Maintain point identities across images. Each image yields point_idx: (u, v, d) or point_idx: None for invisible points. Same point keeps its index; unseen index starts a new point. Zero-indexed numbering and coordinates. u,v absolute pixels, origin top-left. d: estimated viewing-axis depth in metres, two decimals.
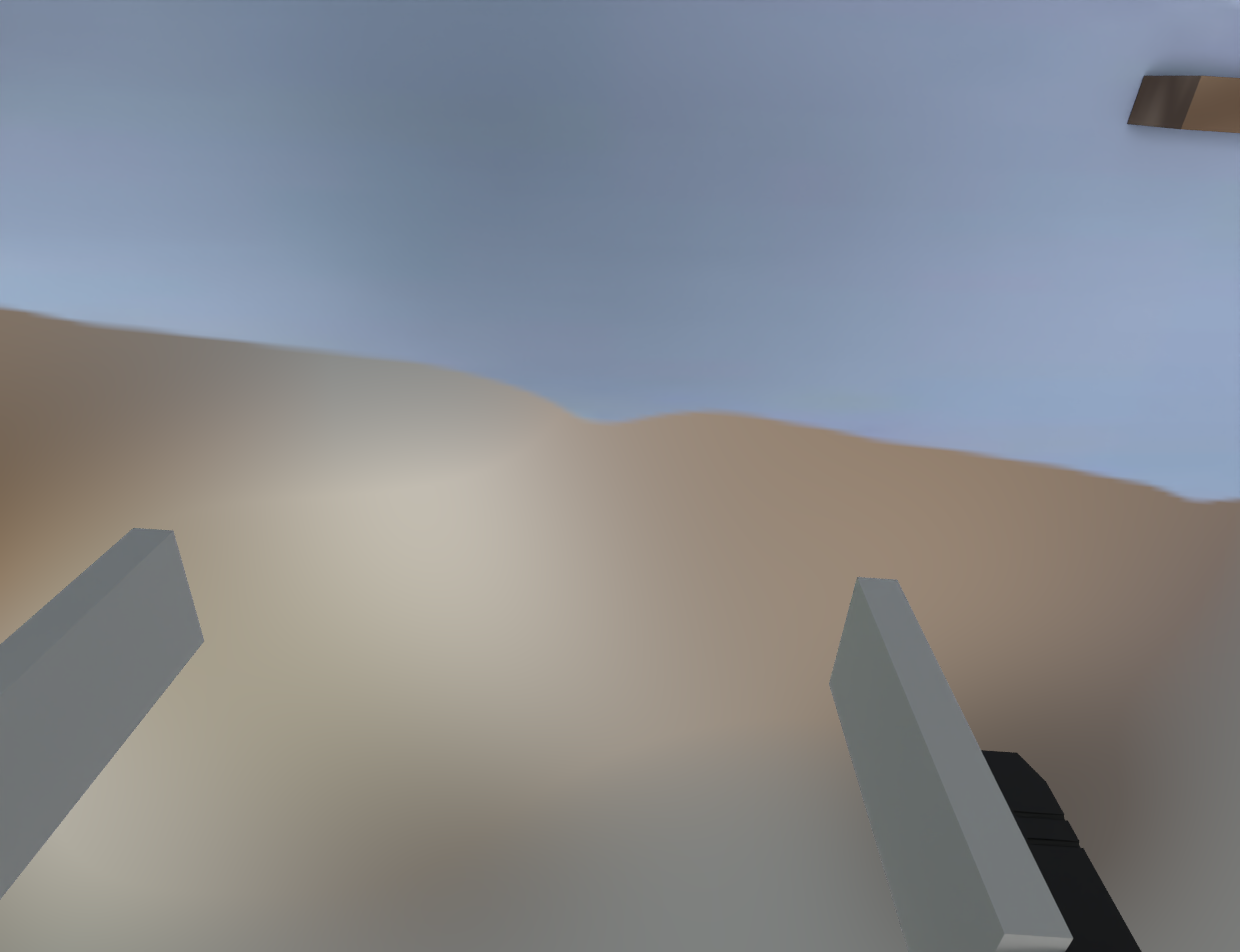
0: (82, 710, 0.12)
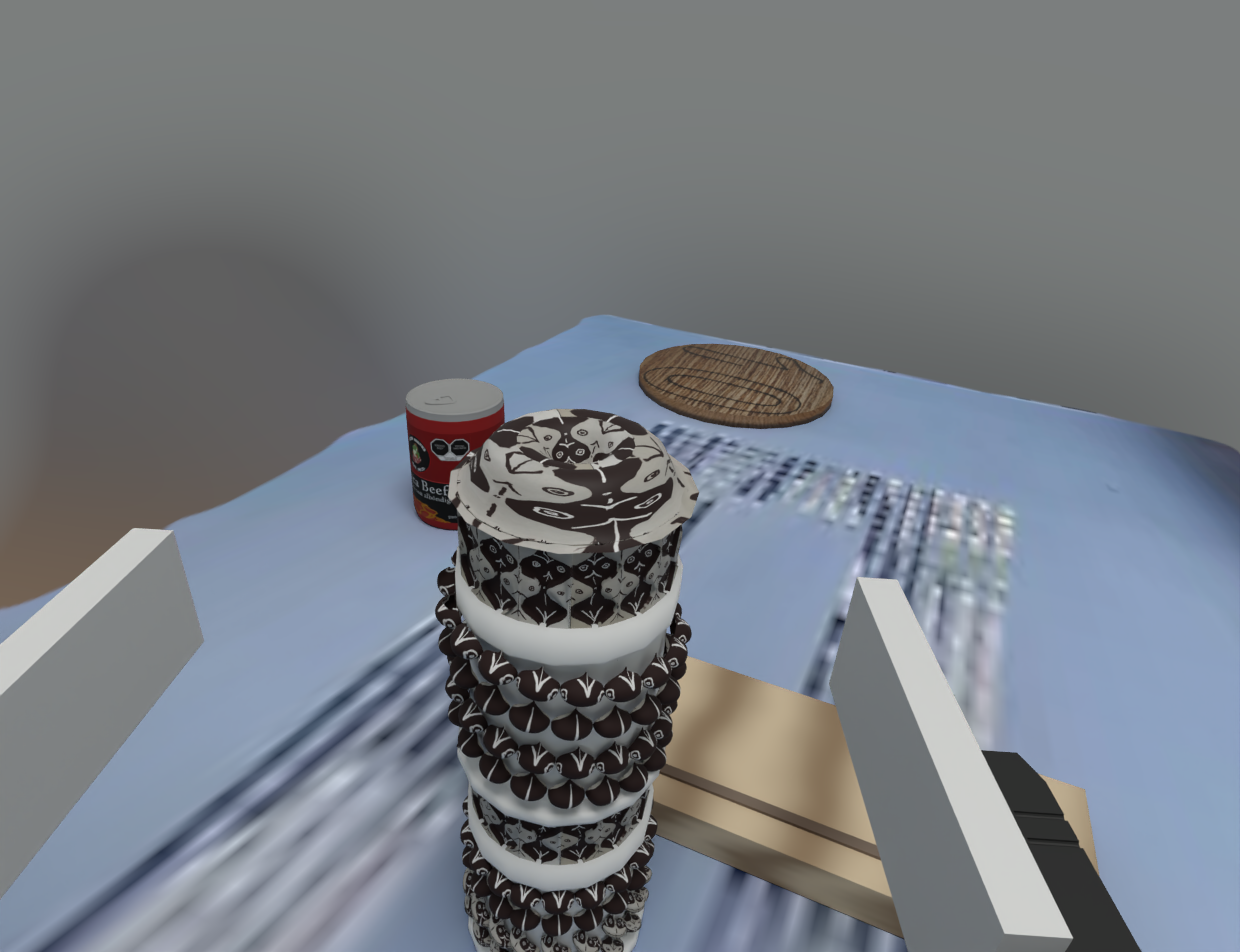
0: (82, 710, 0.12)
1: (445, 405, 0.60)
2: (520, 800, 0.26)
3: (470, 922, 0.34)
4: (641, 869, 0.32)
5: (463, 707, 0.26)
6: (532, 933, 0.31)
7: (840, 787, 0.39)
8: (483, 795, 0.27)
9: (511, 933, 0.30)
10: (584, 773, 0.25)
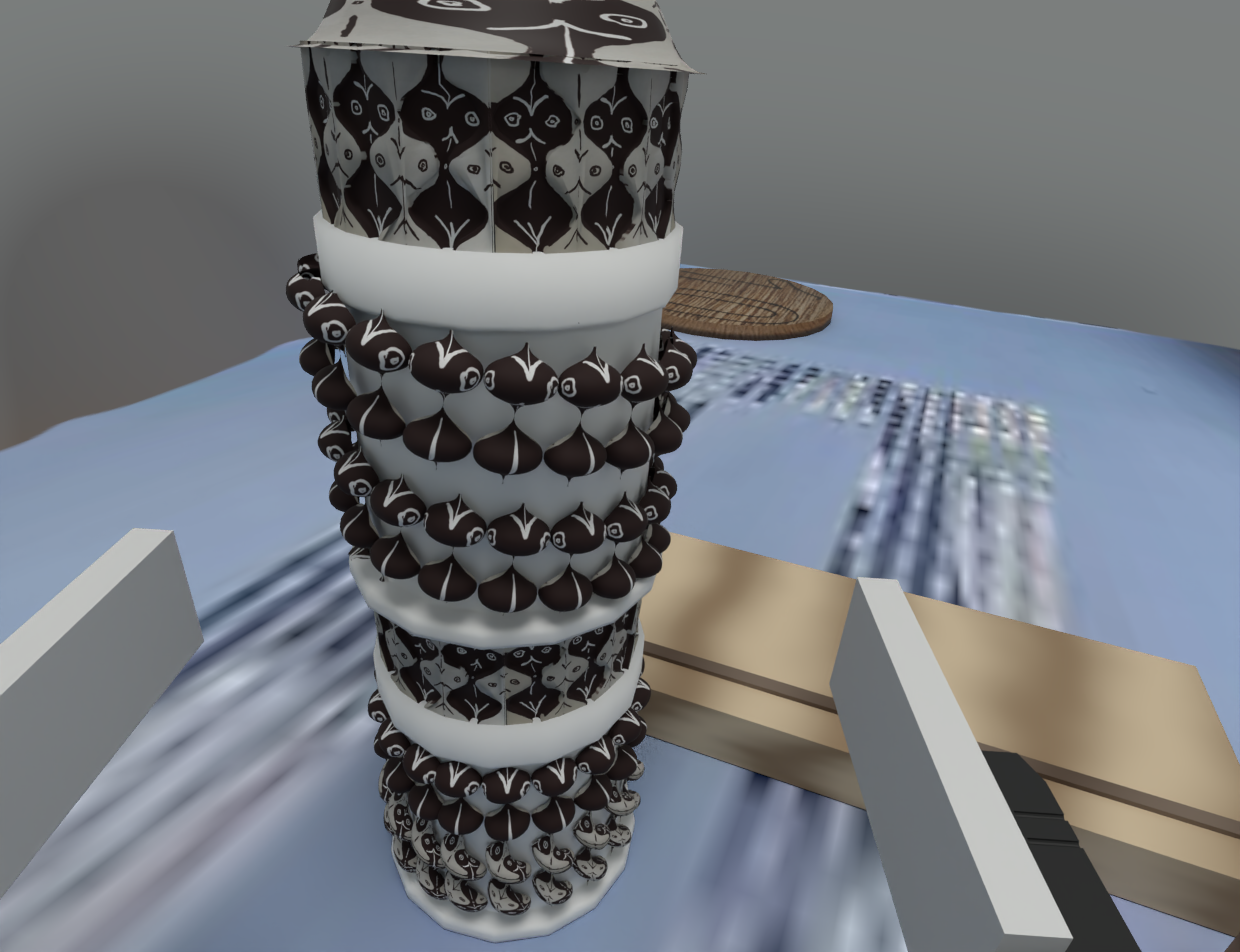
0: (82, 710, 0.12)
1: None
2: (437, 612, 0.17)
3: None
4: (629, 751, 0.22)
5: (341, 458, 0.16)
6: (474, 844, 0.21)
7: None
8: (382, 611, 0.17)
9: (442, 843, 0.21)
10: (532, 543, 0.15)
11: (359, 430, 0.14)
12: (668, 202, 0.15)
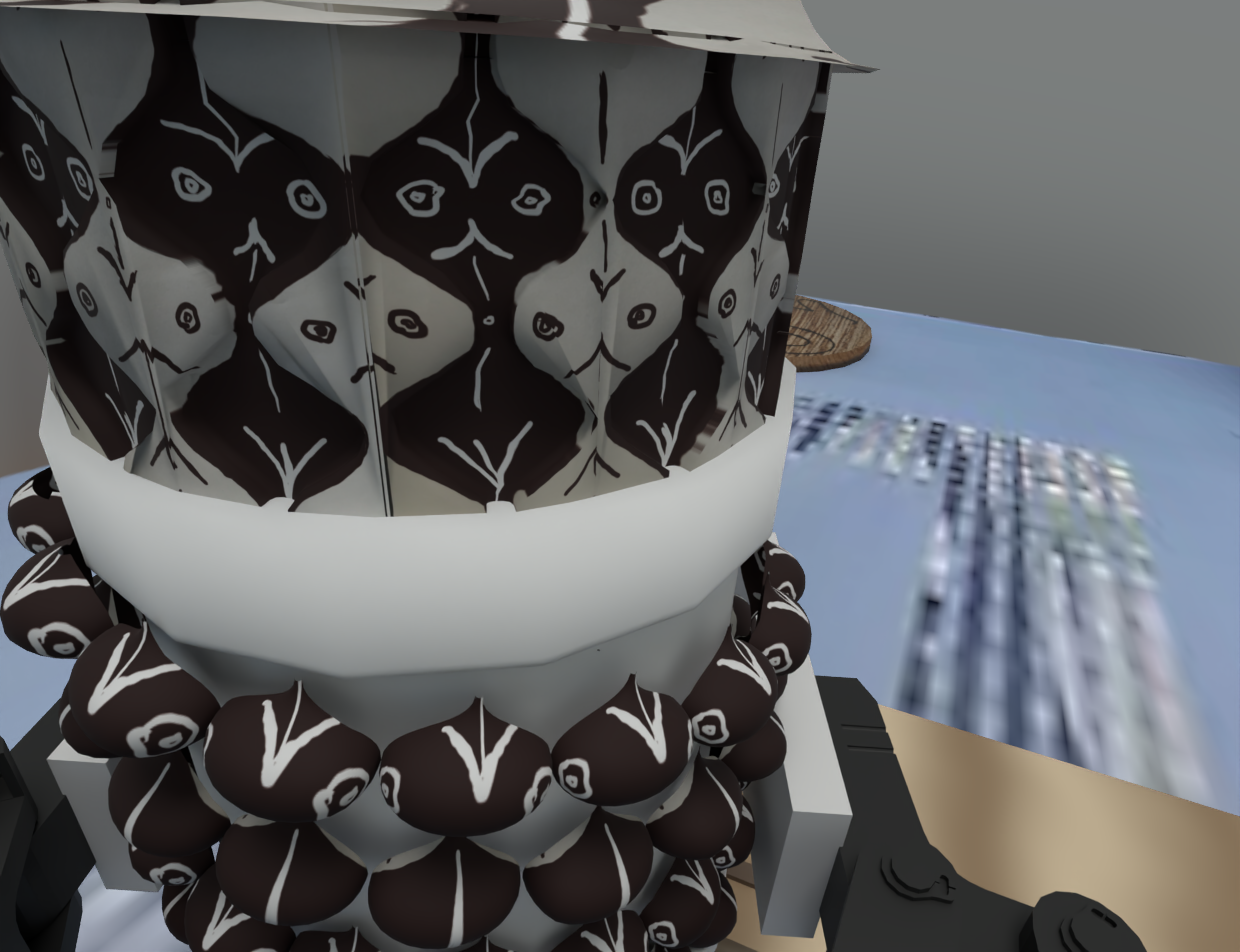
0: None
1: None
2: None
3: None
4: None
5: None
6: None
7: (1009, 881, 0.22)
8: None
9: None
10: None
11: (127, 839, 0.07)
12: (780, 335, 0.07)
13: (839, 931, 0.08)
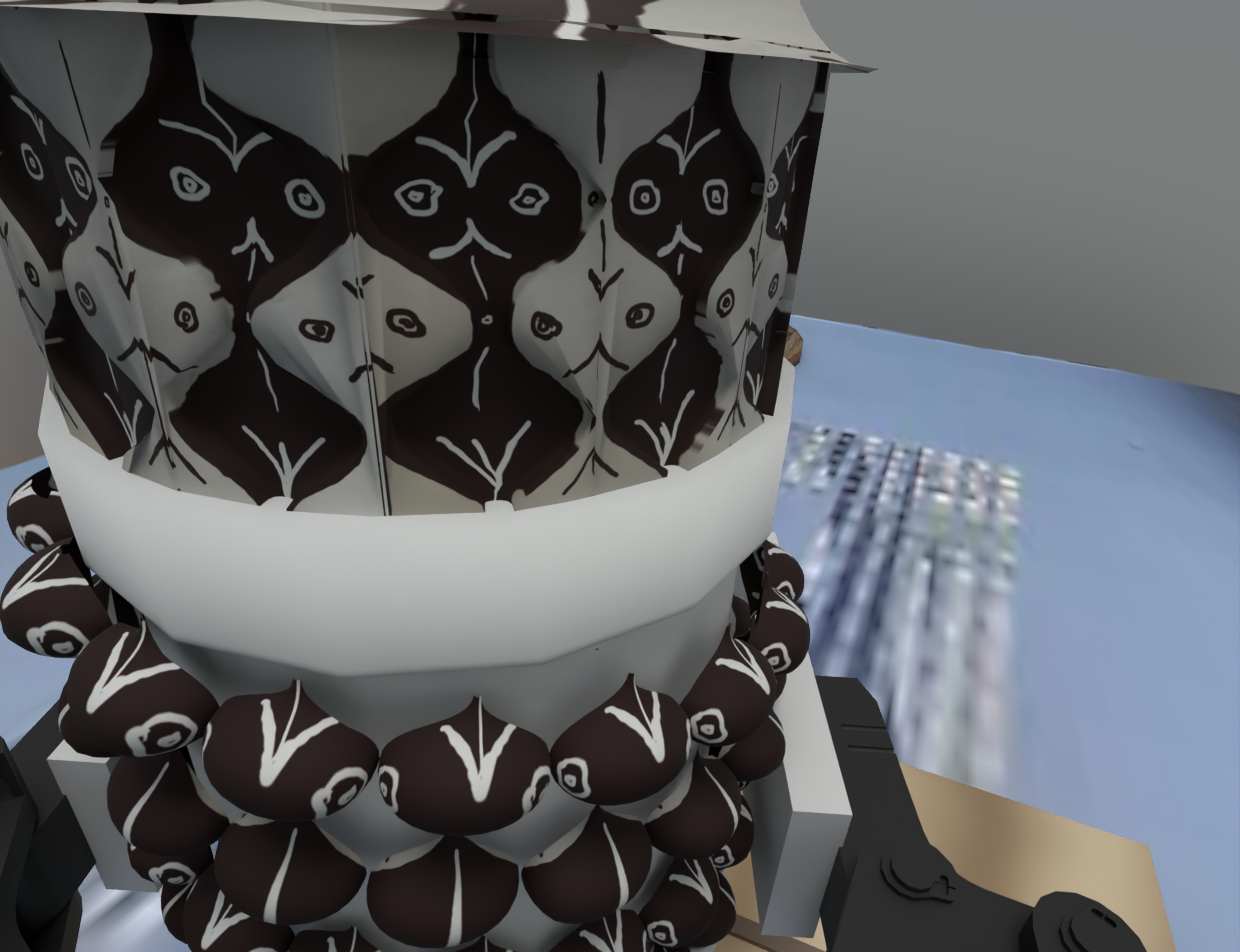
0: None
1: None
2: None
3: None
4: None
5: None
6: None
7: None
8: None
9: None
10: None
11: (126, 838, 0.07)
12: (778, 335, 0.07)
13: (839, 931, 0.08)
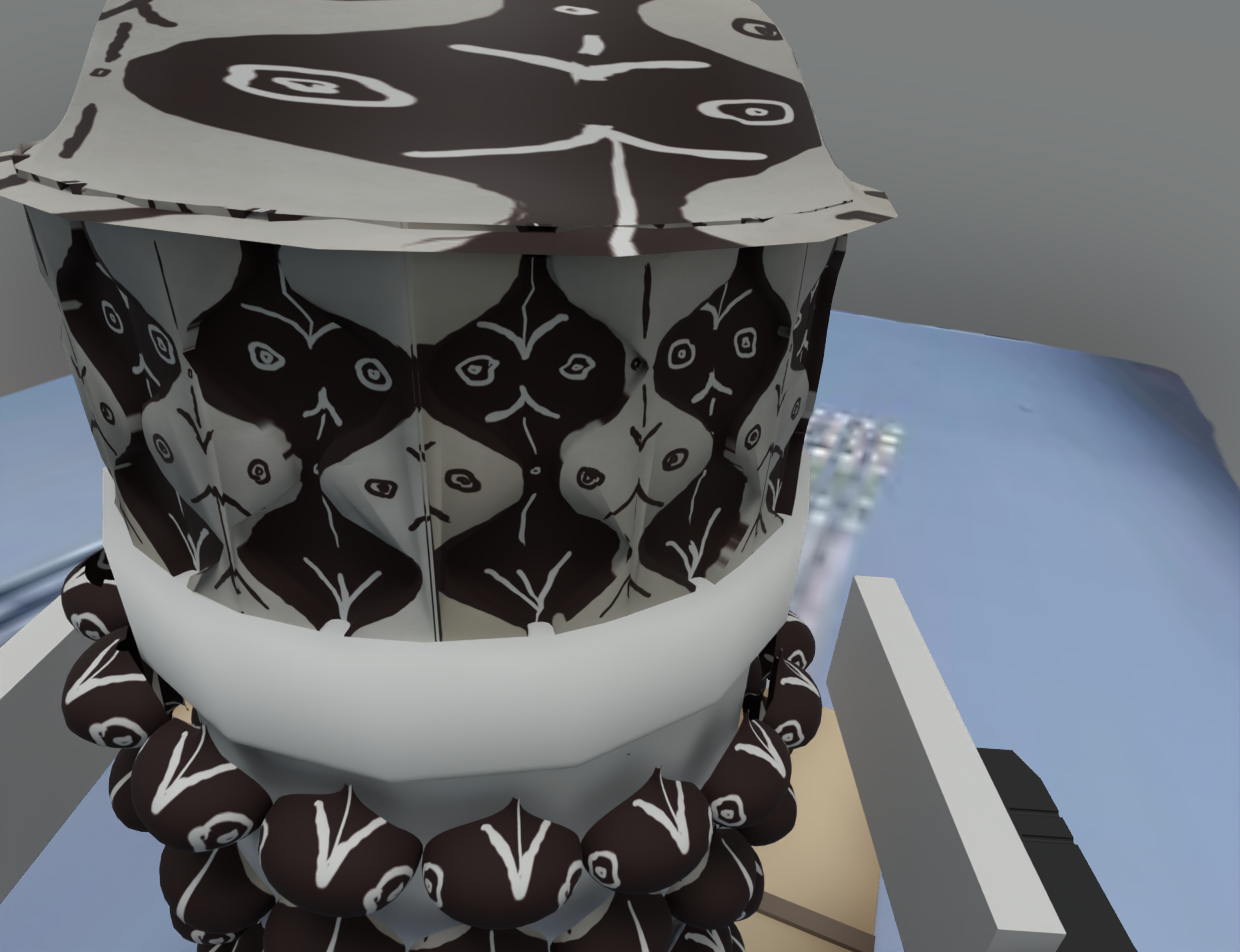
0: None
1: None
2: None
3: None
4: None
5: None
6: None
7: None
8: None
9: None
10: None
11: (178, 916, 0.07)
12: (796, 435, 0.08)
13: None
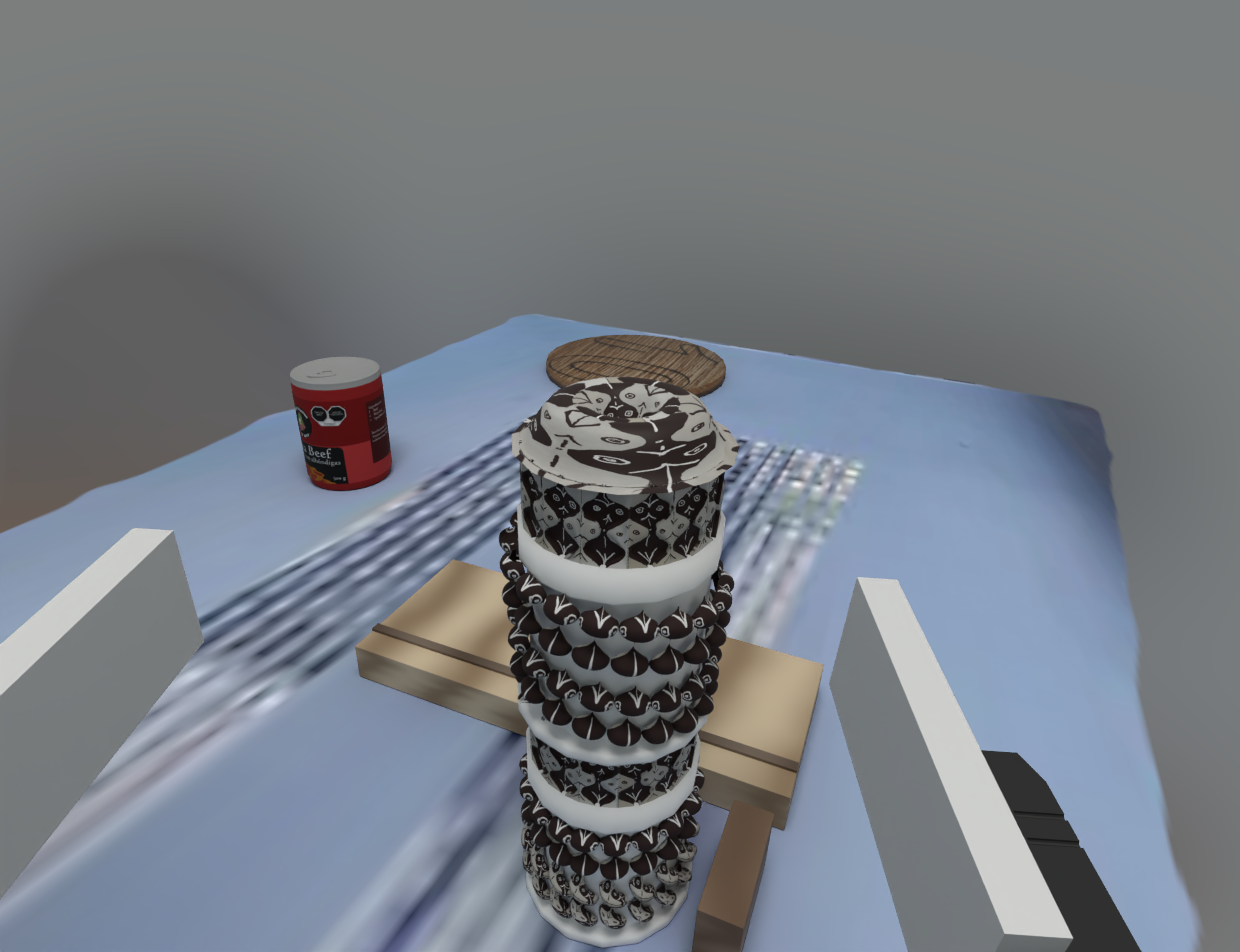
0: (82, 710, 0.12)
1: (325, 377, 0.67)
2: (580, 742, 0.28)
3: (528, 879, 0.36)
4: (691, 819, 0.33)
5: (526, 655, 0.28)
6: (591, 881, 0.32)
7: None
8: (545, 740, 0.29)
9: (571, 881, 0.32)
10: (641, 710, 0.27)
11: (547, 651, 0.26)
12: (717, 514, 0.27)
13: None
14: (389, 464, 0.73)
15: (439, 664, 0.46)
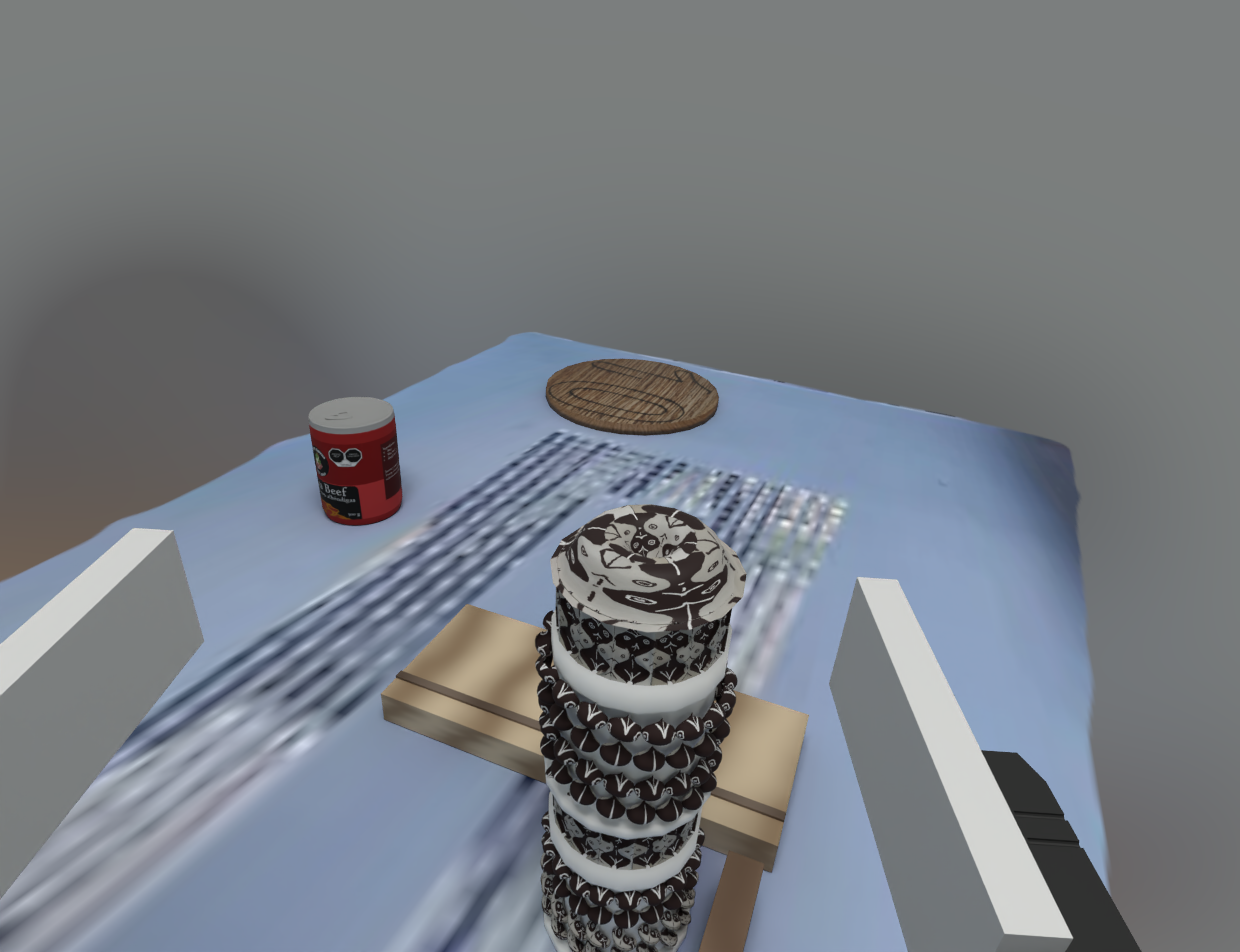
0: (82, 710, 0.12)
1: (342, 419, 0.71)
2: (602, 818, 0.33)
3: (546, 919, 0.40)
4: (692, 872, 0.38)
5: (557, 744, 0.32)
6: (604, 927, 0.37)
7: None
8: (571, 814, 0.33)
9: (587, 927, 0.37)
10: (657, 796, 0.31)
11: (578, 748, 0.30)
12: (726, 630, 0.31)
13: None
14: (400, 499, 0.77)
15: (459, 712, 0.50)
